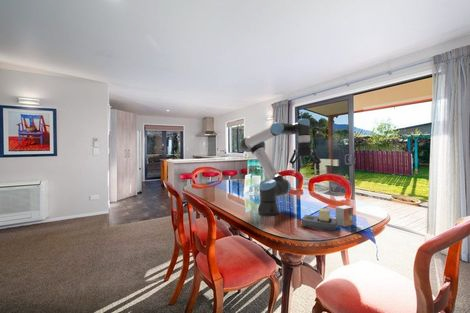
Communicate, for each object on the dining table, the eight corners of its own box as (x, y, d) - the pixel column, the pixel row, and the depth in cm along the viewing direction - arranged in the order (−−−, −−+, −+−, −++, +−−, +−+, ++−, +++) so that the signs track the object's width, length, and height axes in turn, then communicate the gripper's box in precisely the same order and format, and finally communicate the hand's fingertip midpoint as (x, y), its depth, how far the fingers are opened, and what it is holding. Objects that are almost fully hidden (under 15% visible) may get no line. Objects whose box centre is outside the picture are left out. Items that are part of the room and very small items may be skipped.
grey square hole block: (301, 226, 121) (301, 219, 120) (305, 221, 129) (305, 214, 129) (335, 231, 111) (335, 224, 111) (337, 225, 120) (336, 218, 119)
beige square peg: (319, 227, 118) (318, 210, 117) (320, 224, 122) (320, 208, 122) (328, 229, 115) (328, 211, 115) (330, 226, 119) (329, 209, 119)
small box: (343, 227, 117) (343, 209, 117) (335, 224, 122) (335, 206, 122) (353, 224, 120) (353, 207, 120) (345, 221, 126) (344, 204, 125)
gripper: (284, 142, 141) (285, 173, 141) (323, 141, 128) (324, 174, 128) (287, 143, 147) (288, 172, 148) (325, 141, 134) (325, 173, 135)
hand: (304, 173), depth 138 cm, fingers open, 13 cm apart
